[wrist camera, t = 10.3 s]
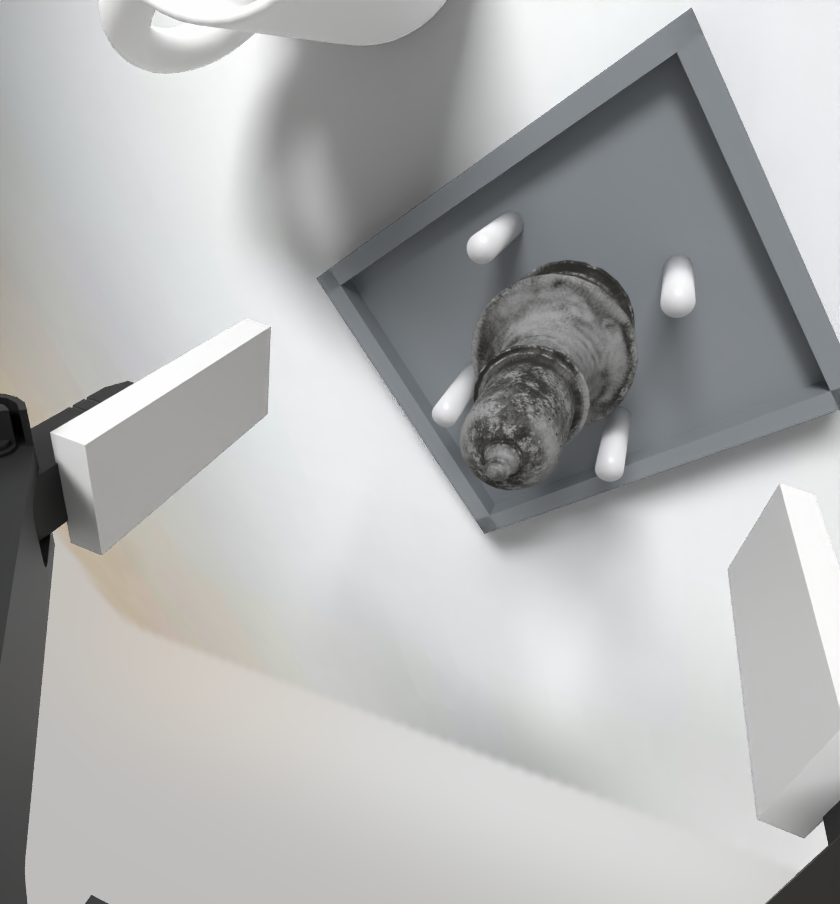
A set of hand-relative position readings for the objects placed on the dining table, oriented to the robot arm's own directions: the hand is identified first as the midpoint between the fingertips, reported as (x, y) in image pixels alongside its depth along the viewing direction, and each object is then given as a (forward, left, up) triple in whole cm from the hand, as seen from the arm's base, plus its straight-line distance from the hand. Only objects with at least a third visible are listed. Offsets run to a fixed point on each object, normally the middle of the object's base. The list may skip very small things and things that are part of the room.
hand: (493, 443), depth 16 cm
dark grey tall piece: (0, 0, -11) cm, 11 cm away
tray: (0, 0, -12) cm, 12 cm away
